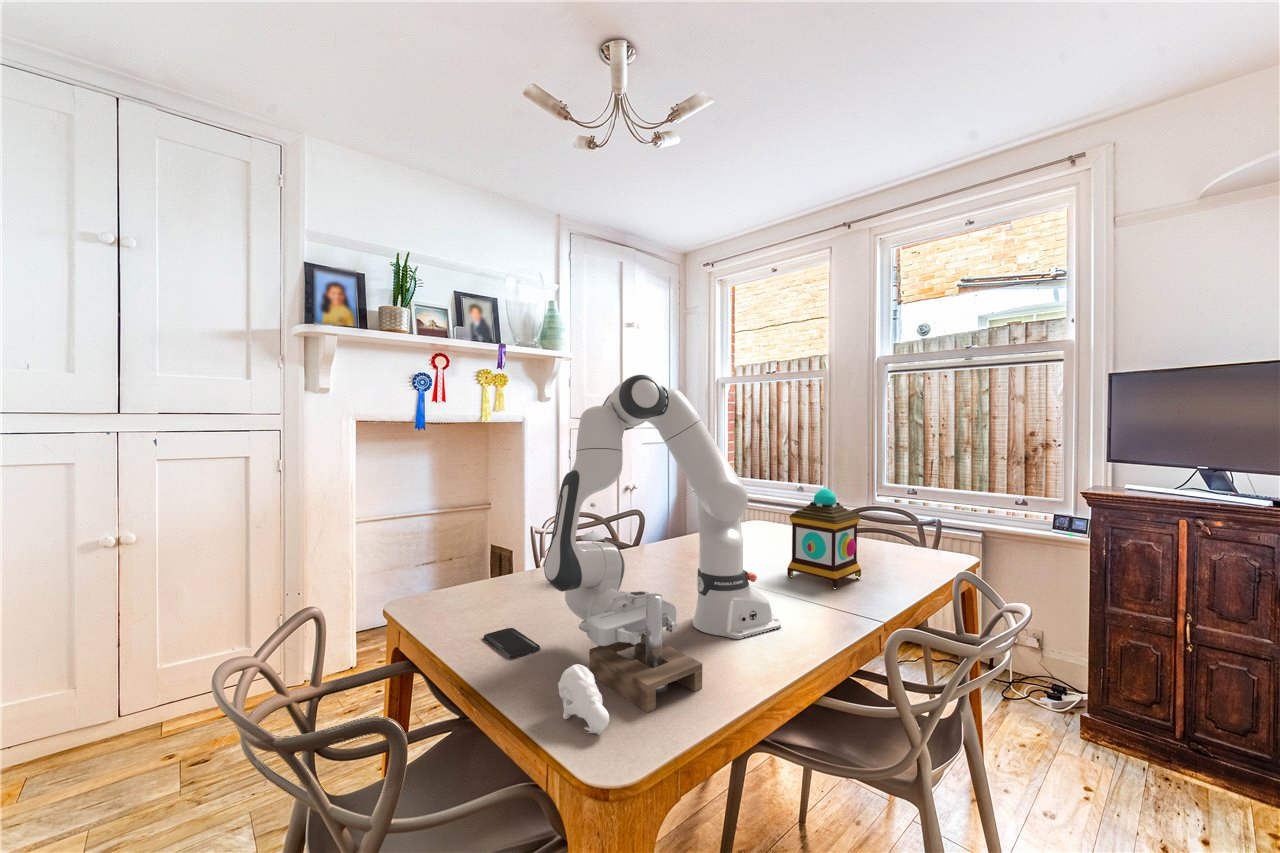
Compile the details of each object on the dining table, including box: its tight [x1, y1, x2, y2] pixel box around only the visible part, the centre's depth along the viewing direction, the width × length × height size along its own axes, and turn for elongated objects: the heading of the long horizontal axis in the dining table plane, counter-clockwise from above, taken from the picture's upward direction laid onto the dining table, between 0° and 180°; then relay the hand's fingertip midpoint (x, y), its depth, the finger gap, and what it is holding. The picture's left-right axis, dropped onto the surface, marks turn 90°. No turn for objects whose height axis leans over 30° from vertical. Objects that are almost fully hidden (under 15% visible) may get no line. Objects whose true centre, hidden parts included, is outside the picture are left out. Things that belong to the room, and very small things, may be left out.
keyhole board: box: [588, 633, 703, 713], centre depth 109 cm, size 19×14×5 cm
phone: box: [483, 627, 541, 660], centre depth 125 cm, size 8×1×15 cm
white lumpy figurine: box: [557, 663, 610, 736], centre depth 94 cm, size 6×8×12 cm
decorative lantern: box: [786, 487, 862, 589], centre depth 177 cm, size 20×20×30 cm
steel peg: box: [645, 593, 669, 695], centre depth 106 cm, size 6×6×18 cm
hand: (657, 633), depth 105 cm, fingers open, 8 cm apart
